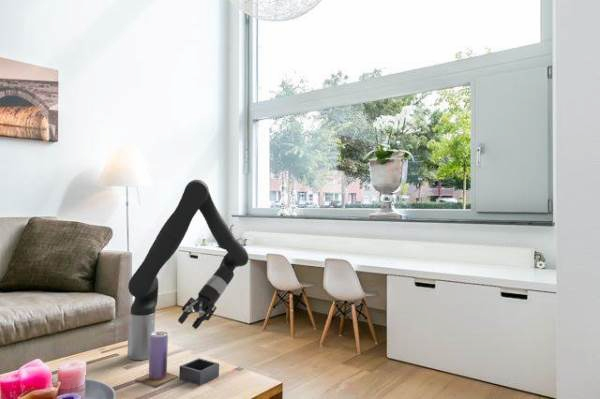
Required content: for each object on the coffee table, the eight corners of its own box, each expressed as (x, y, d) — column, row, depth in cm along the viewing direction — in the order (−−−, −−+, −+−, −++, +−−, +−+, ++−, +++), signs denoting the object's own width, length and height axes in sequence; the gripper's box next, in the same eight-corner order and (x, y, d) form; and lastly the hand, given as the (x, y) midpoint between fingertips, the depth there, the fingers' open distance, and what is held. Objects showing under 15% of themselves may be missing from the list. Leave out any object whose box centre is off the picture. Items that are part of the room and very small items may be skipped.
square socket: (179, 379, 152) (179, 366, 152) (198, 370, 160) (198, 358, 160) (200, 385, 147) (200, 372, 147) (218, 376, 155) (219, 363, 155)
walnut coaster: (135, 380, 149) (135, 379, 149) (158, 371, 158) (158, 369, 158) (156, 387, 144) (156, 385, 144) (178, 377, 153) (178, 375, 153)
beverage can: (161, 381, 148) (162, 337, 148) (145, 379, 149) (146, 335, 149) (169, 374, 154) (171, 332, 154) (154, 373, 155) (155, 330, 155)
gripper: (196, 281, 172) (169, 315, 163) (220, 286, 163) (193, 323, 154) (206, 292, 176) (180, 326, 167) (230, 299, 167) (204, 335, 158)
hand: (186, 325), depth 160 cm, fingers open, 8 cm apart
